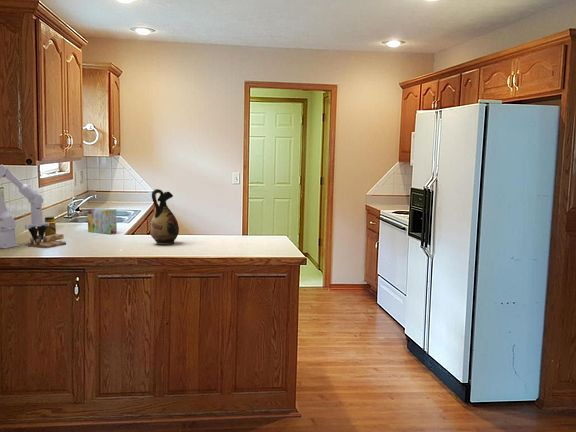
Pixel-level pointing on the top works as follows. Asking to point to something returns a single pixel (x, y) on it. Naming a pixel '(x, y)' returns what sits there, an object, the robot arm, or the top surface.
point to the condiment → (50, 226)
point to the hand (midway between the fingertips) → (38, 240)
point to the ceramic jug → (163, 220)
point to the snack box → (102, 220)
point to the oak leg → (54, 237)
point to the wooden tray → (44, 243)
